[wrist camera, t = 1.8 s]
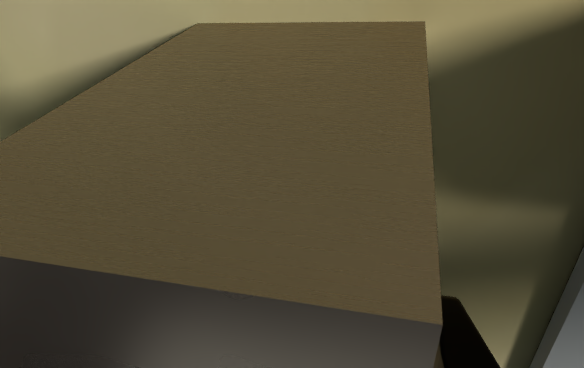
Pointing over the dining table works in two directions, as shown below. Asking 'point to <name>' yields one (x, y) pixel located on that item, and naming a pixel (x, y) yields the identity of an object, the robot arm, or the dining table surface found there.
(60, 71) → the dining table surface
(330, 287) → the steel block
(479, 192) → the dining table surface
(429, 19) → the dining table surface
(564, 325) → the vise body
